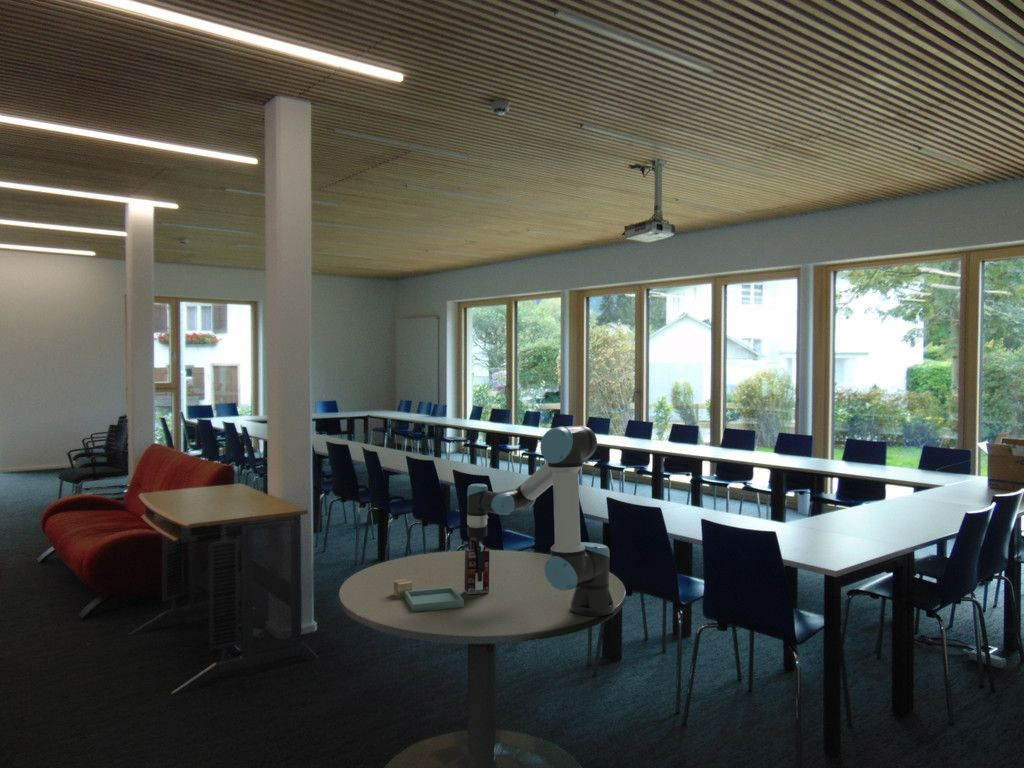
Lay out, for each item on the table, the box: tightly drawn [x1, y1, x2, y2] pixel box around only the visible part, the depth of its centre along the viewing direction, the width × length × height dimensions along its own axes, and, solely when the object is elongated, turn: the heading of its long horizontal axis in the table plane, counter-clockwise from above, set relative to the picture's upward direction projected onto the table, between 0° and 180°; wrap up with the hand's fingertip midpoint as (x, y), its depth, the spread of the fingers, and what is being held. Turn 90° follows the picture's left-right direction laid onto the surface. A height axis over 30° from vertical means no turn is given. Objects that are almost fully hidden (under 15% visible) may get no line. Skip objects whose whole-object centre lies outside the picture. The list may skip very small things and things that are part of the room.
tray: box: [404, 586, 465, 613], centre depth 268 cm, size 16×18×2 cm
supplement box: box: [463, 547, 490, 595], centre depth 280 cm, size 9×5×16 cm, turn 108°
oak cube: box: [393, 578, 413, 599], centre depth 276 cm, size 5×5×5 cm
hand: (476, 587), depth 280 cm, fingers closed on supplement box, 5 cm apart
